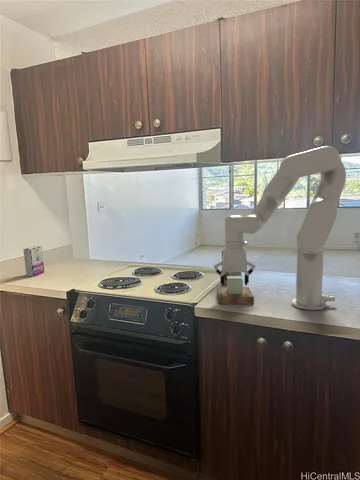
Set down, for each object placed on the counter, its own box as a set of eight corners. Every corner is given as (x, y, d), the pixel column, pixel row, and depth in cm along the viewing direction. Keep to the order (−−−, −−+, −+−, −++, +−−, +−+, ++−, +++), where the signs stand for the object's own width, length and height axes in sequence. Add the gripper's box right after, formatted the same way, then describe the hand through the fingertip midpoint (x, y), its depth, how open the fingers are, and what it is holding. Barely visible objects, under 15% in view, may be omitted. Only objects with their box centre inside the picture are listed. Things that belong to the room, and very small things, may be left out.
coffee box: (221, 282, 166) (221, 250, 163) (232, 280, 168) (232, 249, 166) (230, 286, 157) (230, 253, 155) (242, 285, 159) (242, 252, 157)
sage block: (240, 289, 142) (240, 276, 141) (242, 293, 136) (242, 279, 135) (226, 289, 143) (226, 276, 142) (228, 294, 137) (228, 280, 136)
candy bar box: (37, 272, 200) (34, 245, 198) (44, 272, 199) (42, 245, 197) (25, 276, 189) (22, 248, 187) (33, 277, 188) (30, 248, 186)
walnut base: (248, 293, 146) (248, 286, 146) (253, 303, 133) (253, 296, 132) (217, 293, 147) (217, 287, 147) (219, 304, 133) (219, 297, 133)
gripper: (253, 243, 140) (253, 282, 142) (213, 243, 141) (213, 282, 143) (256, 246, 132) (256, 287, 135) (213, 246, 133) (214, 287, 136)
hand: (234, 284), depth 139 cm, fingers open, 9 cm apart
